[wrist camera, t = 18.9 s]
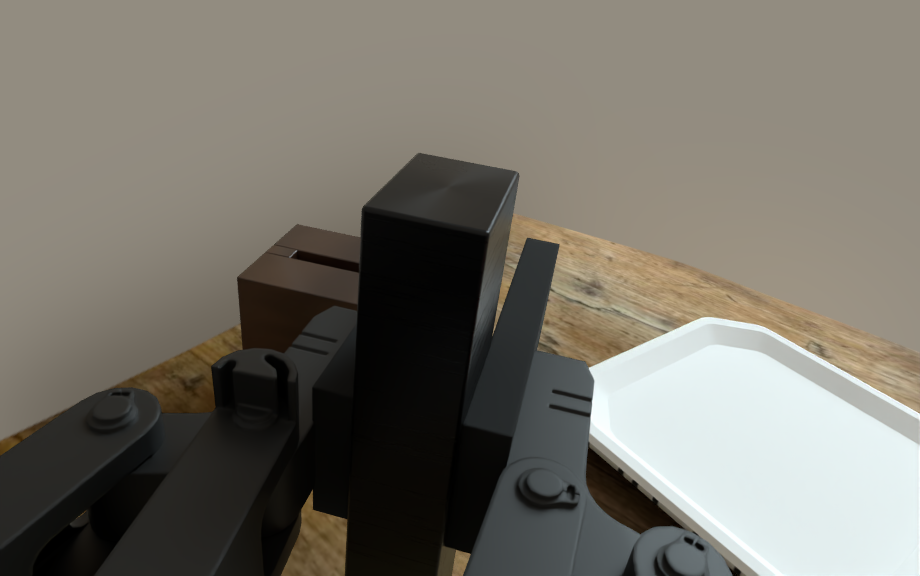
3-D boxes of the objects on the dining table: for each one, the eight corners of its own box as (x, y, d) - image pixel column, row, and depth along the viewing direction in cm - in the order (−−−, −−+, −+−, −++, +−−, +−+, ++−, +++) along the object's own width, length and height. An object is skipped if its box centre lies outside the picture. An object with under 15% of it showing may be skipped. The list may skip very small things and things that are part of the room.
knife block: (247, 409, 38) (236, 277, 34) (299, 343, 44) (296, 223, 40) (359, 437, 37) (364, 305, 33) (397, 366, 43) (406, 246, 39)
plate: (860, 715, 27) (884, 686, 26) (526, 417, 40) (532, 389, 39) (1017, 504, 38) (1039, 477, 37) (717, 327, 52) (726, 303, 51)
